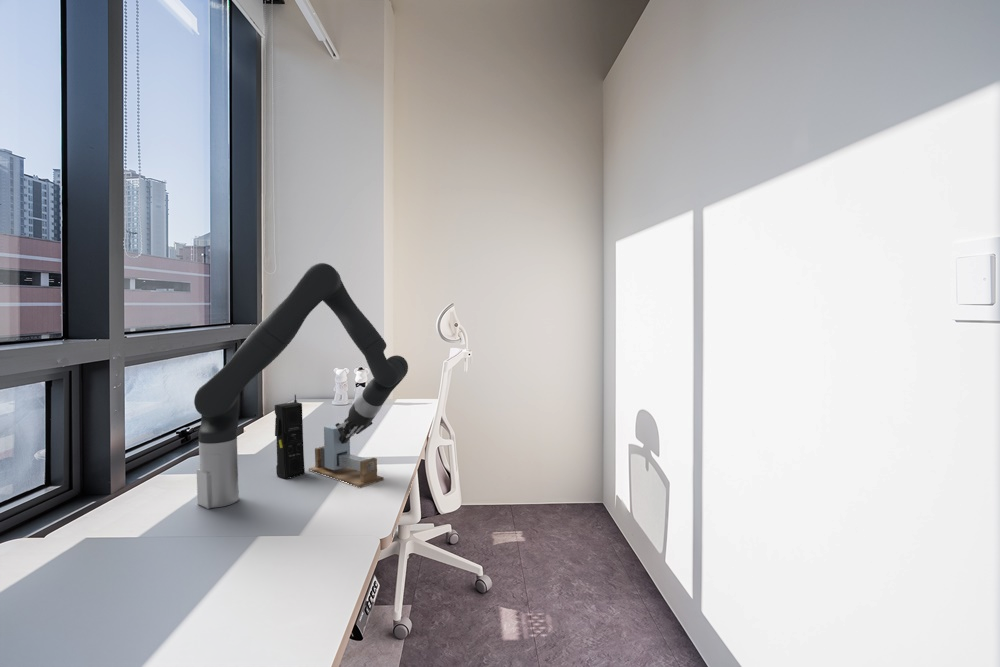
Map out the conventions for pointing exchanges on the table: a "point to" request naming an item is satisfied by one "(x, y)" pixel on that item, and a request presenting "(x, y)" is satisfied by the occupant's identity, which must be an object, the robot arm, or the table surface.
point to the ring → (322, 457)
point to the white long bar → (351, 461)
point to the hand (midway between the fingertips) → (342, 441)
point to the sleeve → (333, 447)
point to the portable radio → (289, 439)
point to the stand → (349, 472)
